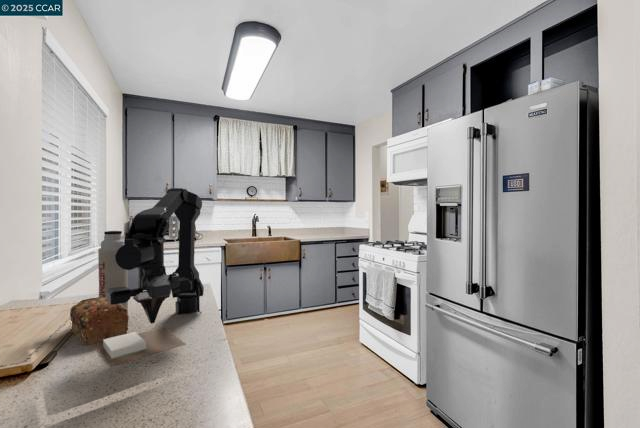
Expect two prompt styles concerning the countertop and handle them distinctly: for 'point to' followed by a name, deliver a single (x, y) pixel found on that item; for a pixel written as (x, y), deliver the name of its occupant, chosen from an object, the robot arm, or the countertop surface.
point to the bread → (98, 320)
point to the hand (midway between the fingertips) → (152, 323)
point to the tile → (124, 345)
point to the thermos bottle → (111, 264)
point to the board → (147, 345)
